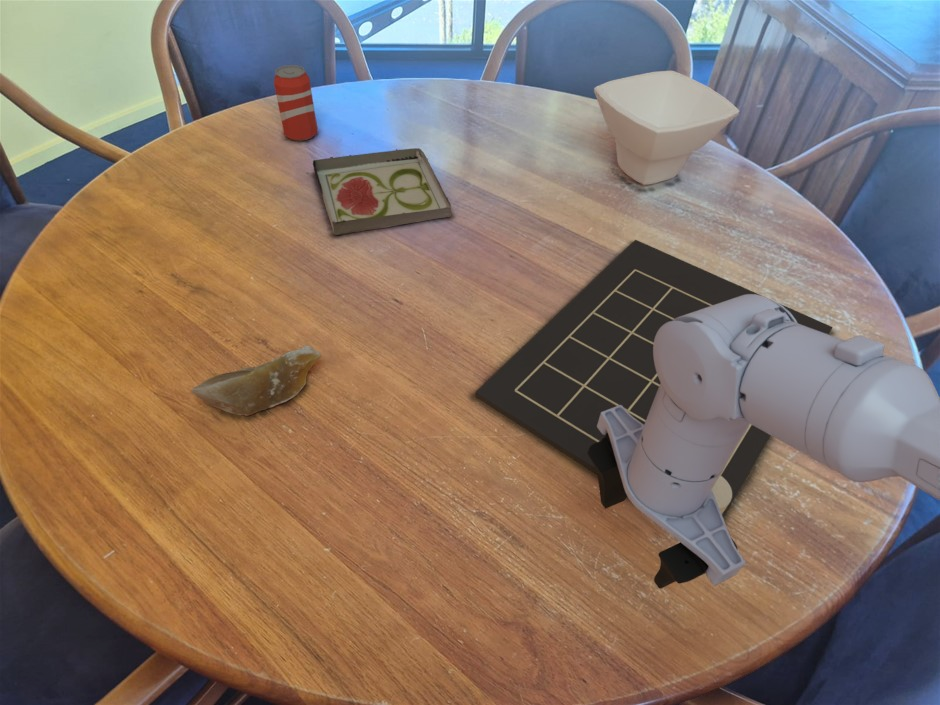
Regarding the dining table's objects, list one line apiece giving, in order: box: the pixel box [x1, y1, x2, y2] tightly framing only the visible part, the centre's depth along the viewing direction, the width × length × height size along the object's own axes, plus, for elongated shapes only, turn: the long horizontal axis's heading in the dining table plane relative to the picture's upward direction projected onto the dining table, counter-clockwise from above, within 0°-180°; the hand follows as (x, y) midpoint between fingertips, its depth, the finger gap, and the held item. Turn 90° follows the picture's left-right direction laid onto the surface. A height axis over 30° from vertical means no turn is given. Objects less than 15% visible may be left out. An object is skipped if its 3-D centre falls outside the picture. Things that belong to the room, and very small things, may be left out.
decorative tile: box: [312, 147, 452, 236], centre depth 104 cm, size 20×3×20 cm
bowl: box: [593, 70, 740, 186], centre depth 106 cm, size 19×19×14 cm
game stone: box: [712, 476, 732, 514], centre depth 63 cm, size 4×4×3 cm
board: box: [475, 239, 833, 519], centre depth 79 cm, size 40×30×1 cm
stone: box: [190, 344, 322, 417], centre depth 72 cm, size 7×6×15 cm
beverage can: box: [273, 64, 318, 142], centre depth 113 cm, size 6×6×12 cm
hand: (638, 539), depth 52 cm, fingers open, 7 cm apart
